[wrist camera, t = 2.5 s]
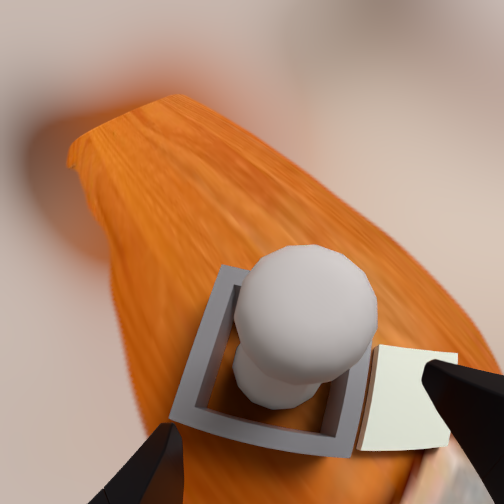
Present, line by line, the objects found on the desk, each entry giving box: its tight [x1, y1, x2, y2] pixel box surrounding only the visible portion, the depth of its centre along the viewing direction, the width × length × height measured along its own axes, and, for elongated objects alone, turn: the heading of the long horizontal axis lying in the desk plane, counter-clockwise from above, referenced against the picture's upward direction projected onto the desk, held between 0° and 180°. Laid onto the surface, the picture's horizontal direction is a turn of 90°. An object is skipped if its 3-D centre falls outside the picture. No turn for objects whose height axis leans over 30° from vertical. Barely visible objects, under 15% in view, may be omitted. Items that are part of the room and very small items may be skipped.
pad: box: [356, 344, 458, 451], centre depth 15 cm, size 8×8×1 cm
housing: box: [169, 265, 372, 458], centre depth 16 cm, size 10×10×4 cm
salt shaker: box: [232, 245, 377, 410], centre depth 12 cm, size 6×6×13 cm
